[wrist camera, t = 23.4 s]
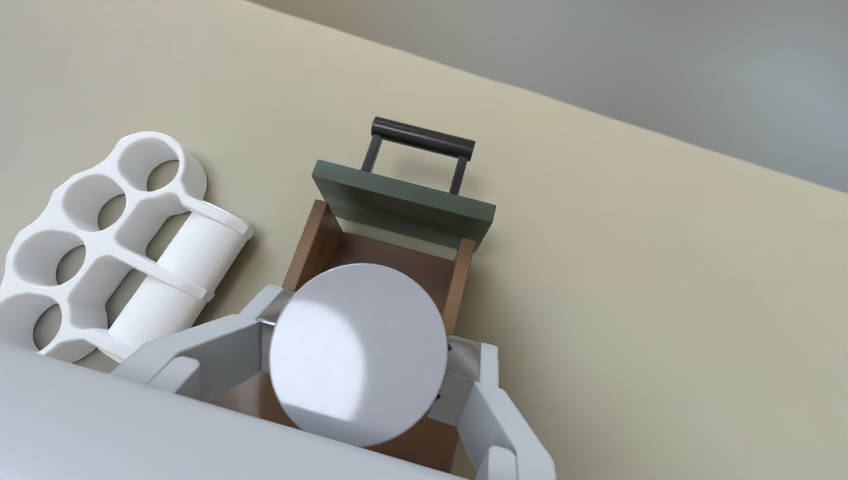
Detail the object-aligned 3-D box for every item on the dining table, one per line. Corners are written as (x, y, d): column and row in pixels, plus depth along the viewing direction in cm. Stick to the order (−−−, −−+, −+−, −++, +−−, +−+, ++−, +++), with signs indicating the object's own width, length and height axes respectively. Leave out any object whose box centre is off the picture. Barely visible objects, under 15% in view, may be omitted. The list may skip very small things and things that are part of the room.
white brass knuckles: (143, 420, 27) (-27, 325, 28) (283, 199, 32) (133, 130, 33) (106, 427, 24) (-83, 320, 25) (269, 181, 29) (104, 104, 30)
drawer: (356, 148, 32) (343, 95, 26) (491, 183, 32) (512, 136, 25) (256, 424, 26) (204, 443, 20) (422, 473, 25) (426, 510, 19)
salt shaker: (442, 321, 16) (471, 283, 9) (418, 422, 15) (425, 479, 8) (351, 296, 17) (302, 238, 9) (319, 394, 15) (231, 423, 8)
